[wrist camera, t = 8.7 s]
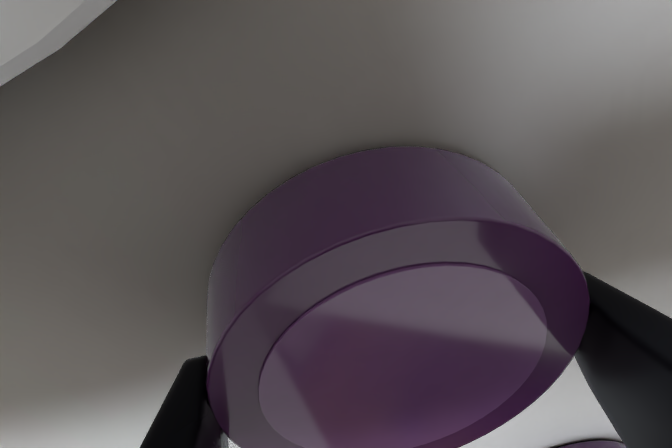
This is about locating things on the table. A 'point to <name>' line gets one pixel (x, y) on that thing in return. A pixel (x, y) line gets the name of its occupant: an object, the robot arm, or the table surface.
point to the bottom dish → (596, 444)
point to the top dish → (388, 306)
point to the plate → (40, 29)
